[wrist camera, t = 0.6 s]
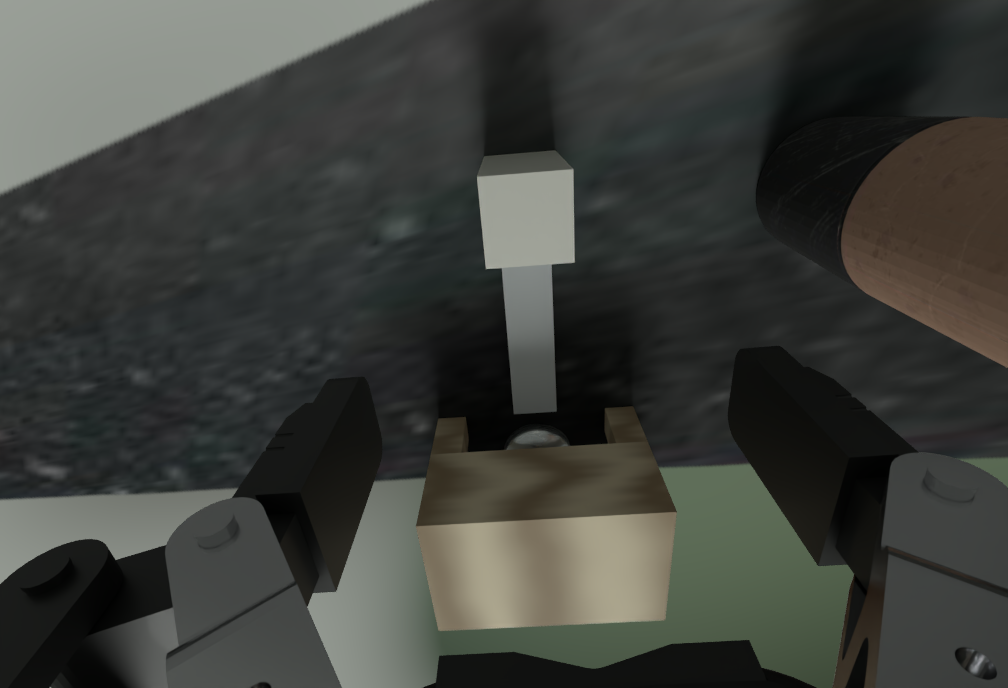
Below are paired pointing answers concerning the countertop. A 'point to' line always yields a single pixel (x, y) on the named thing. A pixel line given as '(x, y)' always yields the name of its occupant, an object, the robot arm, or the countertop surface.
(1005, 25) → the countertop surface
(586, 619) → the notched wooden block
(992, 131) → the travel mug
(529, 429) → the grey metal dome
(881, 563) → the robot arm
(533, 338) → the grey l-shaped block
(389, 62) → the countertop surface
